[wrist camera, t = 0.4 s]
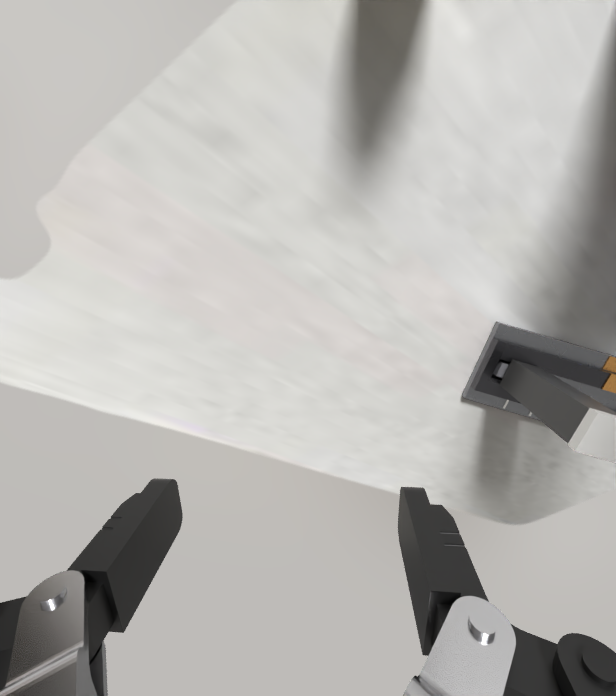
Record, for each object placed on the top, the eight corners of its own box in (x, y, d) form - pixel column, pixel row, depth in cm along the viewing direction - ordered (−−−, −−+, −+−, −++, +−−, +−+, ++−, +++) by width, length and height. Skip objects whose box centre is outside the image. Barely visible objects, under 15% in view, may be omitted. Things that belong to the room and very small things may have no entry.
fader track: (461, 395, 38) (468, 403, 36) (496, 321, 35) (505, 326, 33) (611, 439, 38) (627, 450, 36) (657, 368, 35) (677, 376, 33)
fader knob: (489, 380, 36) (569, 449, 24) (502, 353, 35) (592, 411, 23) (524, 390, 36) (622, 465, 24) (538, 364, 35) (648, 427, 23)
